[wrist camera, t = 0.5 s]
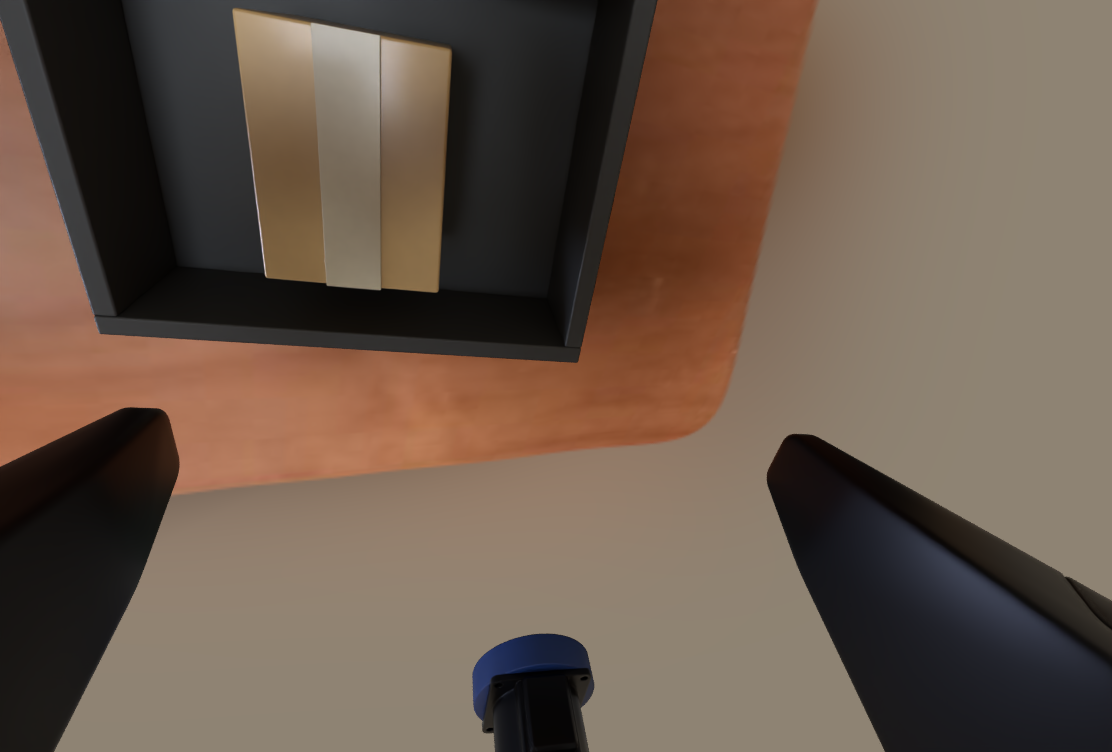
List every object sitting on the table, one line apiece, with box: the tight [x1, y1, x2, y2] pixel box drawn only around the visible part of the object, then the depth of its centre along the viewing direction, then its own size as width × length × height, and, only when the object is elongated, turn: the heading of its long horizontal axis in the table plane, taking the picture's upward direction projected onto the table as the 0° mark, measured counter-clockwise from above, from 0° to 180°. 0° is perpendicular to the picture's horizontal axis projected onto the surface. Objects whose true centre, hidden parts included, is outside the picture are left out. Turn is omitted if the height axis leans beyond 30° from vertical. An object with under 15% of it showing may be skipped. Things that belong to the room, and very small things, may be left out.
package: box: [232, 8, 452, 293], centre depth 15 cm, size 6×4×5 cm
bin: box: [0, 0, 657, 363], centre depth 16 cm, size 11×14×4 cm
